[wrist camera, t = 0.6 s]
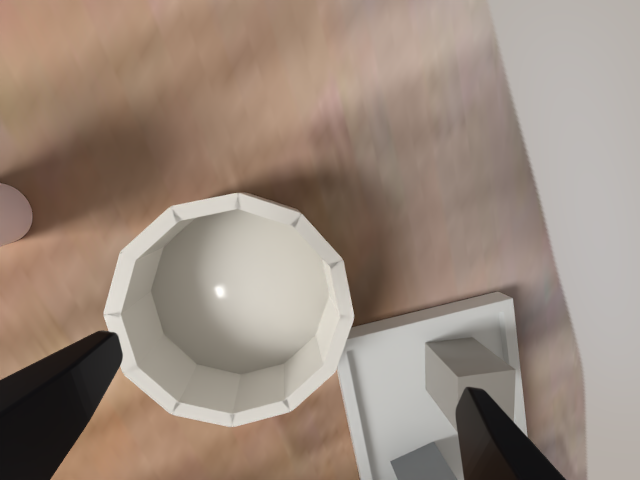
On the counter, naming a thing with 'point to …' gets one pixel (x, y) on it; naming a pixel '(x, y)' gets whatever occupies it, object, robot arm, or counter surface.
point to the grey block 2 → (466, 374)
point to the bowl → (230, 309)
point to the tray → (416, 380)
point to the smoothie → (13, 214)
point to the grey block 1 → (423, 465)
